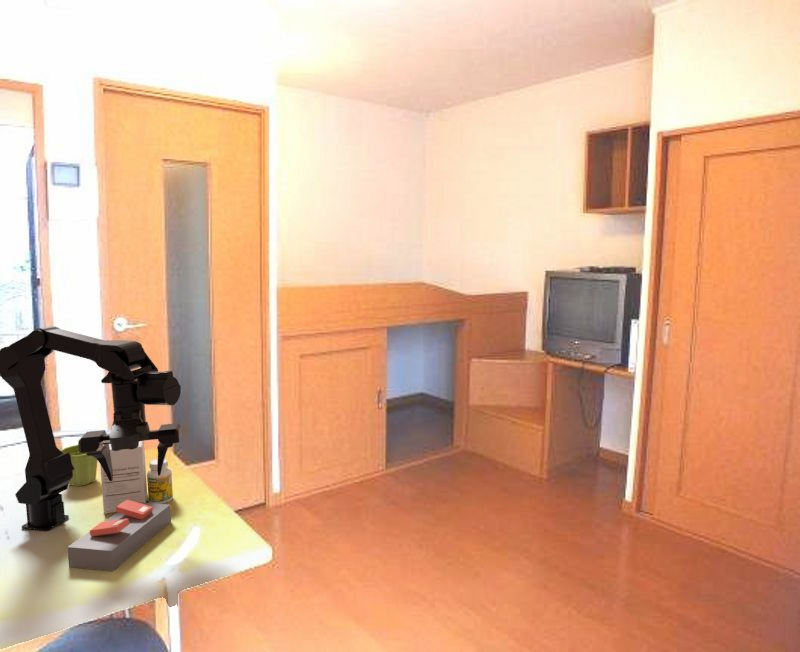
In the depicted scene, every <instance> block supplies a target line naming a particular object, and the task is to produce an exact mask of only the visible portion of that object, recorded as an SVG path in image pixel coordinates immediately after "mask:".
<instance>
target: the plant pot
mask: <svg viewBox="0 0 800 652" xmlns="http://www.w3.org/2000/svg"><path fill="white" fill-rule="evenodd" d="M60 451H61V452H63V453H64V454H65V453H69V454H70V455H71V463H72V465H73V467H74V470H72V471H73V477H72V478H71V480H70V482H69V485H68V486H74V487H81V486H86V485H89V484H90V483H94V482H95V481H96V479H97V471H98V469H97V468H98V460H97V459H96V458H95V457H93V456H88V455H87V454H86V453H87V452H85V453H80V452H79V449H78V444H75V445H74V444H73V445H71V446H66V447H64V448H63V449H62V448H61V450H60Z"/></svg>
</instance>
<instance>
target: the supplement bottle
mask: <svg viewBox="0 0 800 652" xmlns="http://www.w3.org/2000/svg"><path fill="white" fill-rule="evenodd" d="M168 461H169V460H168V459H166V458H165V459H164V463H163V467H162V471H161V474H160V476H158V471H157V464H158V458H157V459H152V460H151V461H149V465H148V466H149V471H148V472H146V481H147V497H148V503H156V504H167V503H169V502H171V501H172V500H173V497H174V495H173V494H174V493H173V492H174V491H173V476H172V475H173V474H172V470H171V468H170V467H168V466H169V462H168Z"/></svg>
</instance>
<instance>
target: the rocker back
mask: <svg viewBox="0 0 800 652" xmlns="http://www.w3.org/2000/svg"><path fill="white" fill-rule="evenodd" d="M152 509H153V507H152V506H148V505H145V504H141V503H138V502H134V501H131V500H128V499H127V500H125V501H124V502H122V503H121V504H120V505H118V506H117V507H116V512H115V513H121V514H124V515H127V516H131V517H134V518H138V519H141V520H142V519H144V518H145V517H146V516H148V515H149V514H150V513H152Z"/></svg>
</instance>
